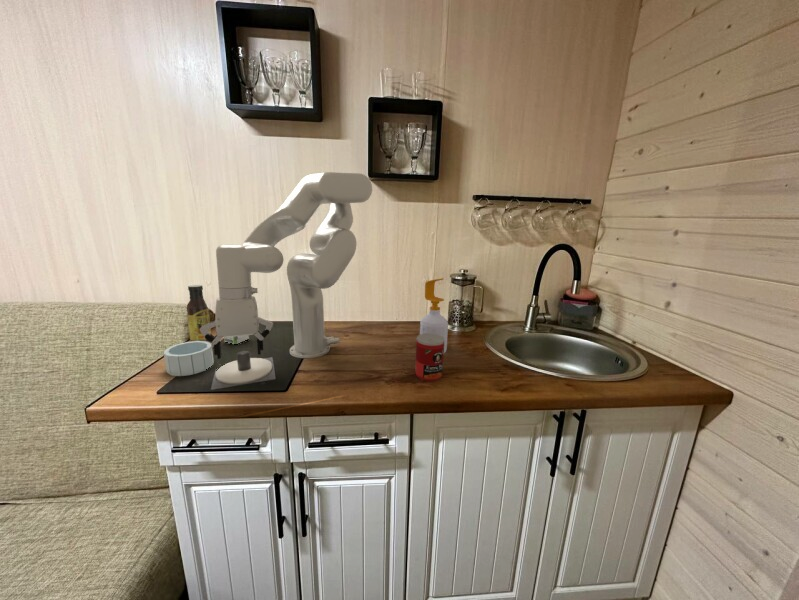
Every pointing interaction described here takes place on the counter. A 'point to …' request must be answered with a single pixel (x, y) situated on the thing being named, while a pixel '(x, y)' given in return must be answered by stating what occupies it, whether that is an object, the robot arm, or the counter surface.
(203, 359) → the bowl
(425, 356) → the canned food
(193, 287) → the sauce bottle
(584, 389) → the counter surface
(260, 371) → the lid
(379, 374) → the counter surface
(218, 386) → the mat
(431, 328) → the soap bottle
